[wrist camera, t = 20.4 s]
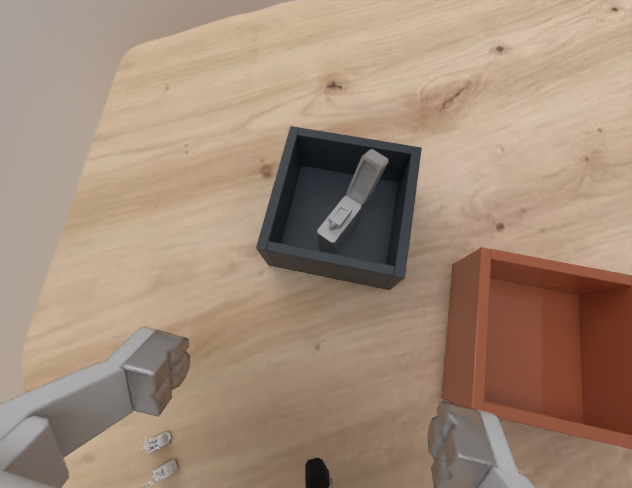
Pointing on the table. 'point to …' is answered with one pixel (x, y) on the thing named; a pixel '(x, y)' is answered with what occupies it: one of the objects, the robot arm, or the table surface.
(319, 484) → the knife
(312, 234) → the grey bin
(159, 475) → the figurines set
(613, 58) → the table surface
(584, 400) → the terracotta bin
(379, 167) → the lighter
